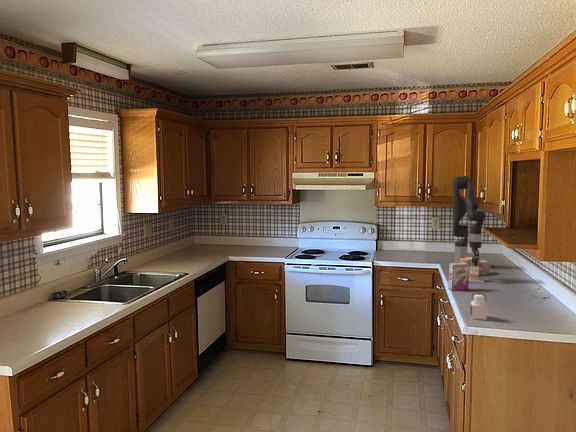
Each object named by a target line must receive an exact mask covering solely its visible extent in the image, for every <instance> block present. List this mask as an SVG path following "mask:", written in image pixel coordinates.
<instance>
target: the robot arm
mask: <svg viewBox="0 0 576 432" xmlns="http://www.w3.org/2000/svg"><path fill="white" fill-rule="evenodd" d="M472 185H473V184H472V181H471V179H470V177H469V176H468V175H461V176H456V177H453V180H452V186H453V187H452V189H453V226H452V227H453V228H452V229H453V230H452V233H453V236H454V237H455V238H456V237H457V238H462V239H460V240H457V241H455V242H454V256H453V258H454V261H453V262H454V263H460V258H468V249H469V248H470V249H471V255H470V256H471V257H472V263H474V265H475V266H478V260H479V258H480V250H479V249H481V248H482V245H483V243H482V241H483V240H482V239H483V236H482V231H483V230H482V228H483V224H484V222H485V219H486V214H485V212H484V211H483V210H478V209H479V204H478V202H477V200H476V198H475V195H474V194H475V193H474V190H473V186H472ZM465 189H467V191H466V194H465V197H463V195H461V193H460V190H465ZM466 214H467V219H468V220H469V221H471V222H476V223H475V224H472V225H470V227H469V226H468V225H467V224H459V223H460V222H461V220H462V219H463V218H464V217H465V216H466ZM469 228H470V229H469ZM469 230H470V231H469ZM468 242H469V243H468ZM468 245H469V246H468ZM468 247H469V248H468Z"/></svg>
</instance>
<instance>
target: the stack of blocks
mask: <svg viewBox="0 0 576 432" xmlns="http://www.w3.org/2000/svg"><path fill="white" fill-rule="evenodd" d="M460 263H467V264H469V273H470V267H478V268H479V276H483V275H485V276H486V275H489V274H490V261H488V260H484V259H480V257H479V260H478V266H475V265H474V263H472V256H471V257H470V256H469V257H468V256H467V258H460Z"/></svg>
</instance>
